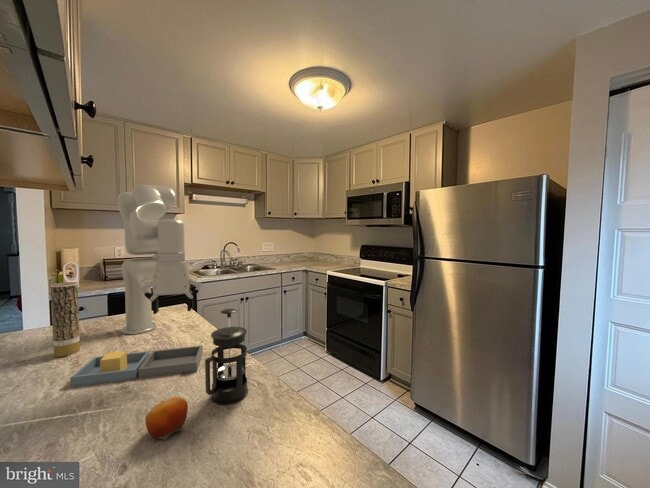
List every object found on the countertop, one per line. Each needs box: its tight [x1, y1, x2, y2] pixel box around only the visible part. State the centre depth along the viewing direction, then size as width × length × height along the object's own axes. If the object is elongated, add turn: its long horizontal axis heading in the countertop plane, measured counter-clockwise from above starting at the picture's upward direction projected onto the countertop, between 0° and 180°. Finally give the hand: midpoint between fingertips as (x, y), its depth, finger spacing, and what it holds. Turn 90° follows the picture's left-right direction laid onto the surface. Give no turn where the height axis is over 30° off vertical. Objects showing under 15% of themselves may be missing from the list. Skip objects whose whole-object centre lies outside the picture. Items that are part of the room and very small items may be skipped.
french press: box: [204, 308, 249, 406], centre depth 73 cm, size 12×9×23 cm
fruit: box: [145, 396, 189, 441], centre depth 60 cm, size 8×8×8 cm
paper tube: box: [50, 281, 81, 358], centre depth 97 cm, size 7×7×25 cm
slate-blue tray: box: [69, 350, 151, 388], centre depth 84 cm, size 13×16×3 cm
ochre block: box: [100, 350, 128, 373], centre depth 84 cm, size 5×5×5 cm
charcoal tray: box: [138, 345, 203, 379], centre depth 89 cm, size 13×16×3 cm
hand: (173, 311), depth 88 cm, fingers open, 9 cm apart
